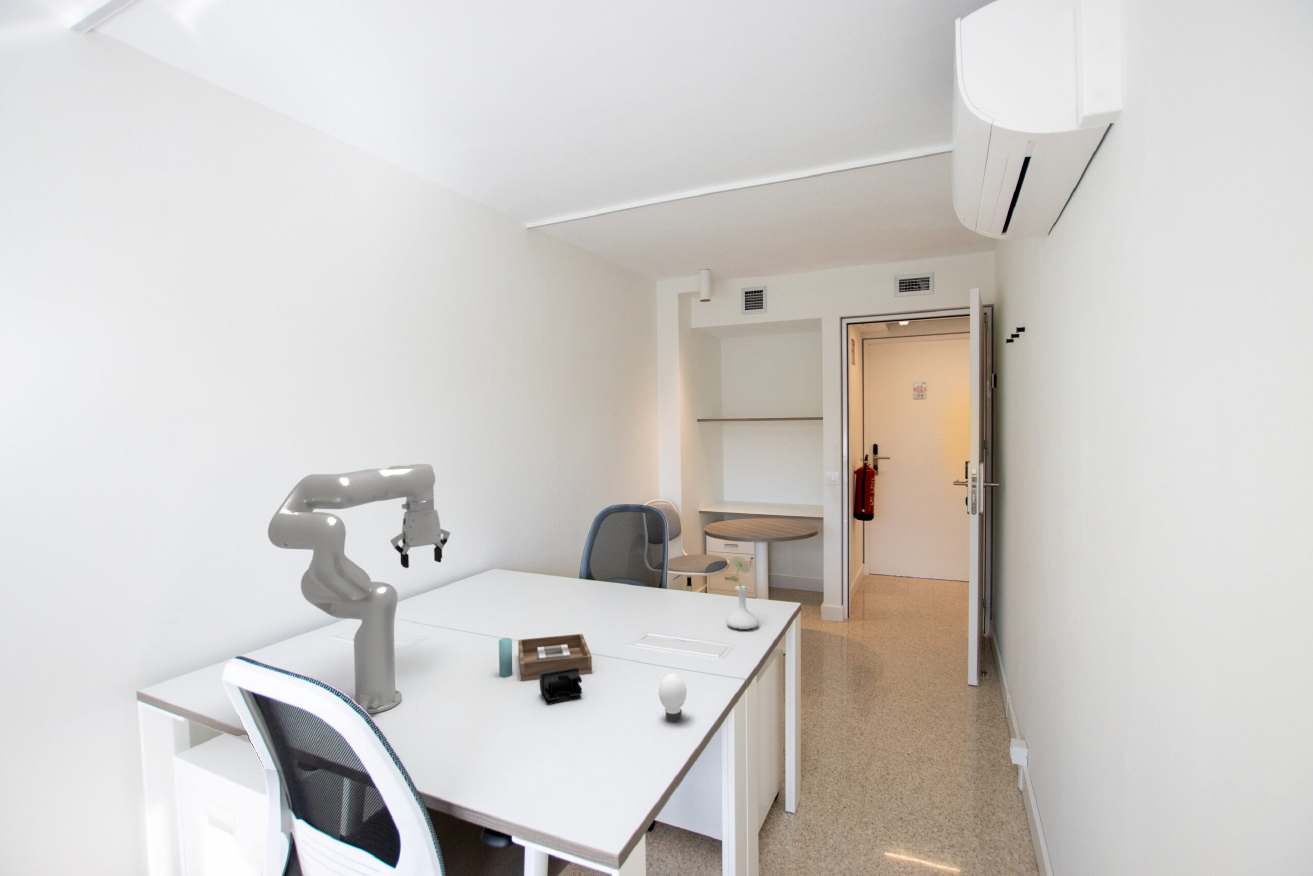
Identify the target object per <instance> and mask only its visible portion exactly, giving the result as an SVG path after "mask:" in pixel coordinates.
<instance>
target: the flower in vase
mask: <svg viewBox="0 0 1313 876" xmlns="http://www.w3.org/2000/svg"><path fill="white" fill-rule="evenodd" d="M730 560H731V563H732V565H733V566H734V567H735V569H736V570H737V571H736V574H735V575H736V576H734V575H731V577H730V580H732V581H734V582H736V583H738V585H737V586H735V587H734V589H735V590H736V592H737V595H738V601H739V602H738V609H736V610H735V611H734V612H733V613H732V614H731V615H729V616H728V617H727V618H726V621H725V623H726V624H727V626H729V627H731V628H734V629H737V628H738V630H750V628H751V629H755V628H756V627H758V625H759V624H760V621H759V619H758V618H757V617H756V616H755V615H754V614H753V613H751V612H750V611H749V610H748V609H747V607H746V606H747V605H746V604H747V603H746V599H747V593H748V592H749V590H750V587H749V586H745V585H741V584H744V583H745V582H747V581H749V580H748V578H747V579H745V580H742V581H741V582H740V581H739V577H738V573H739V571H740V572H742V573H748V572H751V564H750V563H749V560H748V559H747V558H746V557H743V555H739V554H734V555H732V556H731V558H730Z"/></svg>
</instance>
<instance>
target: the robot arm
mask: <svg viewBox="0 0 1313 876" xmlns="http://www.w3.org/2000/svg"><path fill="white" fill-rule="evenodd" d="M435 483H436V475H435V472H434V468H433V466H432V465H431V464H428V463H413V464H409V465H392V466H389V467H387V468H368V469H363V470H362V469H361V470H357V471H351V472H350V471H349V472H345V473H344V472H343V473H335V474H334V473H330V474H329V473H328V474H327V473H326V474H325V473H322V474H321V473H312V474H308V475H306V476H305V477H303V478H302V479H301V480H299V482H298V483H297V484H296V485H295V486H294V487H293V488H292V490H291V491H290V493H288V495H287V496H286V497H285V499H284V501H283V502H282V503H281V504H280V506H279V507H278V509H277V510H276V511H275V513H274V514H273V516H272V518H271V519H270V522H269V524H268V527H267V537H268V540H269V541H270V542H271V544H272V545H273V546H275V547H278V548H280V549H286V550H287V549H288V550H312V551H313V553H312V558H311V561H310V563H309V565H308V568H307V569H306V571H305V572H304V573H303V574H302V576H301V577H302V578H301V581H300V589H301V590H300V591H301V593H302V595H303V598H304V599H305V600H306V601H307V602H308V603H309V604H311V605H313V606H314V607H316V608H318V609H319V610H320V611H322V612H323V613H325V614H327V615H329V616H331V617H334V618H337V619H338V618H339V619H346V620H347V619H348V620H349V619H350V620H360V621H361V623H360V625H359V627H358V629H357V630H356V633H355V634H354V638H353V655H354V656H353V657H354V658H353V659H354V660H353V661H354V693H355V694H354V697H353V698H352V699H353V700H354V701H355V702H356V703H357V704H358V705H360V706H361V707H362V708H363V709H364V710H365V711H366V712H367V713H368V715H369V714H376V713H382V712H385V711H387V710H390V709H393V708H394V707H396V706H397V705H399V704H400V703H401V701H402V699H403V694H402V692H400V691H399V690H398V689H396V666H395V662H396V661H395V658H396V656H395V654H396V653H395V617H396V610H397V606H398V598H399V597H398V593H397V590H396V588H395V587H394V586H392V585H391V584H390V583H387V582H384V581H372V580H371V577H370V575H369V574H368V573H367V572H366V571H365V569H363V568H362V567H360V566H359V565H357V564H356V563H355V562H353V561H352V560H351V559H350V558H348V557H347V556H346V554H345V543H346V535H347V532H346V530H347V529H346V525H345V523H344V522H343V520H342V519H341V518H340V517H339V516H338V515H336V514H333V513H330V512H323V511H322V512H321V511H314V510H345V509H350V508H354V507H359V506H361V505H366V504H370V503H375V502H382V501H389V500H395V499H402V498H406V501H405V503H403V504H401V508H402V510H405V511H404V513H403V518H402V529H401V533H399V534H398V535H396V536H395V537H393V538H391V539H390V543H391V546H393V549H394V550H396V552H398V553H399V555H400V566H402V568H404V569H408V568H409V567H410V562H409V558H410V556H409V553H408V551H410V549H411V548H418V547H419V548H420V547H424V546H430V545H431V546H432V545H434V546H435V547H434V548H433V555H434V557H433V558H434V561H435V562H437V563H441V562H442V558H443V548H444V546H445V544H447V542H448V540H449V538H450V536H451V532H450V531H447V530H445V529H443V528H441V522H440V517H439V512H438V510H437V509H435V498H434V497H435V494H434V491H435V490H434V488H435V487H434V486H435ZM400 541H401V542H402V545H399V542H400Z"/></svg>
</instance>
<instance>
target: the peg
mask: <svg viewBox="0 0 1313 876" xmlns="http://www.w3.org/2000/svg"><path fill="white" fill-rule="evenodd" d="M512 641H513V639H512V638H510V637H504V638H501V639H499V640H498V657H499V658H498V666H499V667H498V668H499V670H498V671H499V673H498V674H499V677H501V678H508V677H511V676H512V675H513V644H512V643H513V642H512Z"/></svg>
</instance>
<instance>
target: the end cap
mask: <svg viewBox="0 0 1313 876" xmlns="http://www.w3.org/2000/svg"><path fill="white" fill-rule="evenodd" d="M582 680H583V679H582V677H581V675H579V668H577V667H576V668H570V669H564V670H558V671H552V672H546V673H541V675H540V679H539V690H540V695H541V696H542V698H543V699H544V702H545V703H546V705H547V706H551V705H556V704H563V703H567V702H572V701H578V700H582V690H583V688H582V687H581V685H580V684H581V683H582Z"/></svg>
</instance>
